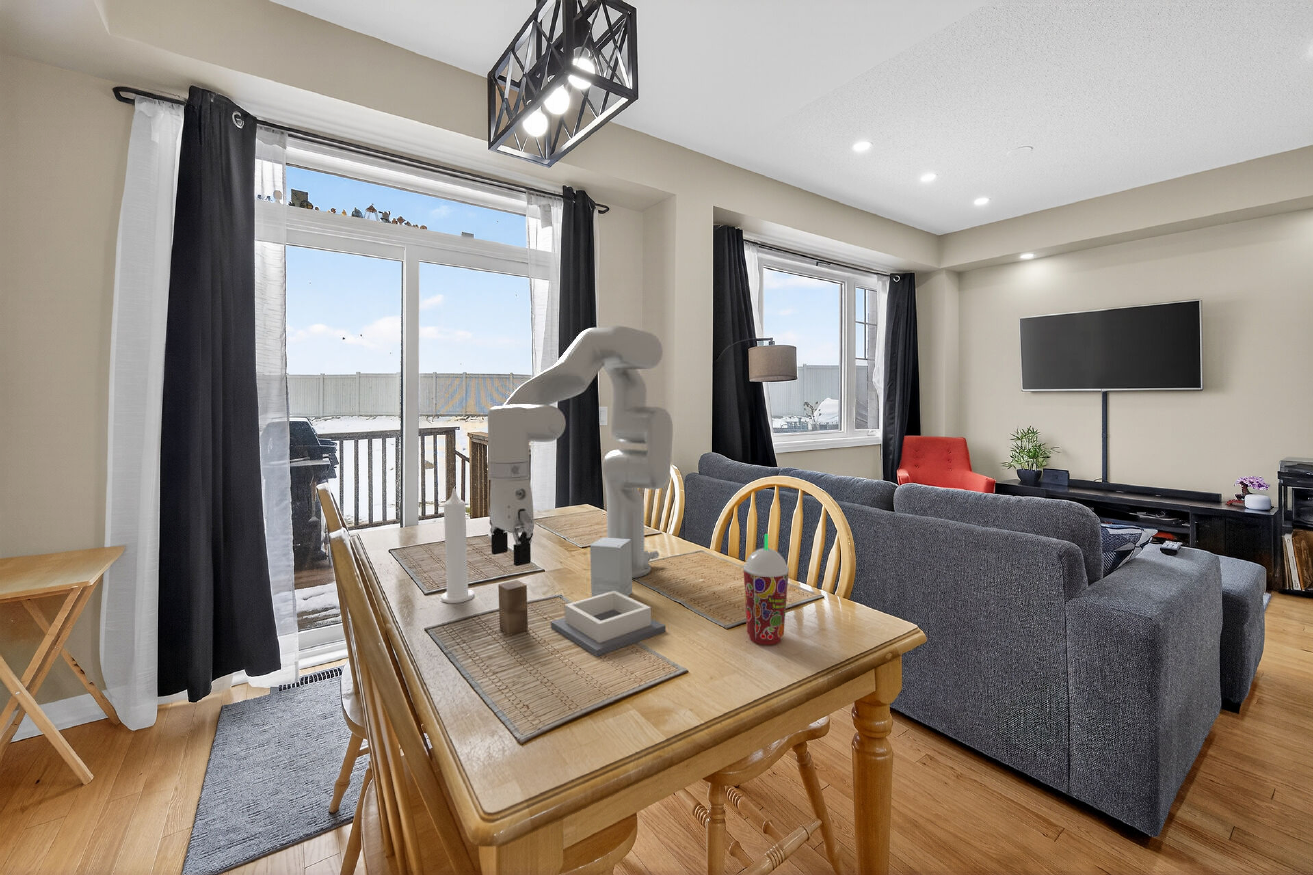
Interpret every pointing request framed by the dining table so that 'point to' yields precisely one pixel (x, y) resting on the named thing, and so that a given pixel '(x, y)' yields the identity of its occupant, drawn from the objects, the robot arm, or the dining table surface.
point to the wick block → (513, 607)
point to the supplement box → (611, 566)
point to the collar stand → (607, 622)
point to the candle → (456, 551)
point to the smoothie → (765, 595)
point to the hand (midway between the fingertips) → (510, 558)
